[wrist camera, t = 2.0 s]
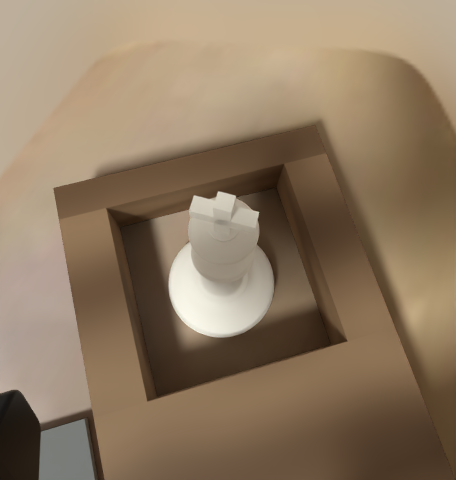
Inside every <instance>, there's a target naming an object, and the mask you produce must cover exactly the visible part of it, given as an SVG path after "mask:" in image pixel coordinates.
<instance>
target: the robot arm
mask: <svg viewBox="0 0 456 480" xmlns="http://www.w3.org/2000/svg"><path fill="white" fill-rule="evenodd" d="M40 444H41V428H40V423H39V420H38V418H37V417H36V415H35V413H34V412H33V410H32V409H31V407H30V405H29V404H28V402H27V401H26V399H25V397H24V396H23V394H22V393H21V392H20V391H18V390H11V391H7V392H4V393H0V480H39V466H40Z"/></svg>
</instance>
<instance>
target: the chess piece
mask: <svg viewBox="0 0 456 480" xmlns="http://www.w3.org/2000/svg"><path fill="white" fill-rule="evenodd" d="M189 214H190V217H191V218H190V220H189V224H188V237H189V241H190V242H188V243H187V244H186V245H185V246H184V247H183V248H182V249H181V250H180V252H179V253H178V254H177V256H176V258H175V259H174V261H173V264H172V266H171V270H170V274H169V283H168V288H169V296H170V300H171V303H172V305H173V308H174V310H175V311H176V313H177V315H178V316H179V317H180V318H181V320H182V321H183V322H184V323H185V324H186V325H188V326H189V327H190V328H192V329H193V330H195V331H197V332H199V333H201V334H204V335H207V336H211V337H219V338H223V337H232V336H236V335H239V334H242V333H244V332H246V331H248V330H249V329H251V328H252V327H254V326H255V325H256V324H257V323H258V322H259V321H260V320H261V319H262V318H263V317H264V315H265V314H266V312H267V311H268V309H269V307H270V305H271V302H272V298H273V294H274V275H273V270H272V267H271V264H270V262H269V260H268V258H267V256H266V254H265V253H264V252H263V250H262V249H261V248H260V247H259V246H258V245H257V242H258V238H259V223H258V220H257V219H258V215H259V212H257V211H253V210H252V209H251V208H250V207H249V206H248V205H247V204H245V203H244V202H242V201H240V200H238V199H236V196H235V195H231V194H227V193H223V192H219V191H218V193H217V196H216V197H215V198H211V199H207V198H203V197H199V196H195V195H194V197H193V200H192V203H191V206H190V209H189Z"/></svg>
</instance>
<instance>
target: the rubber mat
mask: <svg viewBox="0 0 456 480" xmlns="http://www.w3.org/2000/svg"><path fill="white" fill-rule="evenodd" d="M39 480H98V476H97V470H96V464H95V458H94V453H93V447H92V441H91V435H90V429H89V423H88V418H84V419H81V420H78V421H74V422H71V423H68V424H64V425H61V426H58V427H54V428H51V429H48V430H44V431H41V444H40V466H39Z"/></svg>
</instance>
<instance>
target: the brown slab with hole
mask: <svg viewBox="0 0 456 480" xmlns="http://www.w3.org/2000/svg"><path fill="white" fill-rule="evenodd" d="M275 187H277V190H278V193H279V196H280V199H281V202H282V204H283V207H284V210H285V213H286V216H287V219H288V222H289V225H290V228H291V230H292V233H293V236H294V239H295V242H296V245H297V248H298V251H299V253H300V256H301V259H302V262H303V265H304V268H305V271H306V274H307V277H308V279H309V282H310V285H311V288H312V291H313V294H314V297H315V300H316V303H317V305H318V308H319V311H320V314H321V317H322V320H323V323H324V326H325V329H326V331H327V334H328V337H329V340H330V343H331V344H330V345H327V346H324V347H320V348H317V349H314V350H310V351H307V352H304V353H300V354H297V355H294V356H290V357H287V358H284V359H280V360H277V361H274V362H270V363H267V364H264V365H261V366H257V367H254V368H251V369H247V370H244V371H241V372H237V373H234V374H231V375H227V376H224V377H221V378H217V379H214V380H211V381H207V382H204V383H201V384H197V385H194V386H191V387H187V388H184V389H181V390H177V391H174V392H171V393H167V394H164V395H161V396H157V394H156V390H155V385H154V381H153V376H152V372H151V367H150V362H149V358H148V353H147V349H146V344H145V340H144V335H143V331H142V326H141V321H140V317H139V312H138V308H137V303H136V299H135V294H134V289H133V285H132V280H131V276H130V271H129V267H128V262H127V258H126V253H125V248H124V244H123V239H122V235H121V230H120V227H122V226H126V225H129V224H133V223H137V222H141V221H145V220H149V219H153V218H157V217H161V216H165V215H169V214H173V213H177V212H180V211H184V210H188V209H190V206H191V203H192V200H193V197H194V195H195V196H199V197H203V198H207V199H211V198H215V197H216V196H217V193H218V191H219V192H223V193H227V194H231V195H235V196H236V197H239V196H243V195H247V194H251V193H255V192H259V191H263V190H267V189H271V188H275ZM54 194H55V200H56V205H57V211H58V217H59V223H60V228H61V234H62V240H63V245H64V251H65V257H66V263H67V268H68V274H69V280H70V285H71V291H72V297H73V303H74V308H75V314H76V320H77V325H78V331H79V337H80V343H81V348H82V354H83V360H84V366H85V371H86V377H87V383H88V388H89V394H90V400H91V406H92V411H93V417H94V423H95V428H96V434H97V440H98V446H99V451H100V457H101V463H102V468H103V474H104V480H455V478H454V475H453V473H452V470H451V468H450V465H449V463H448V460H447V458H446V455H445V453H444V450H443V448H442V445H441V442H440V440H439V437H438V435H437V432H436V430H435V427H434V425H433V422H432V420H431V417H430V415H429V412H428V410H427V407H426V405H425V402H424V399H423V397H422V394H421V392H420V389H419V387H418V384H417V382H416V379H415V377H414V374H413V372H412V369H411V367H410V364H409V361H408V359H407V356H406V354H405V351H404V349H403V346H402V344H401V341H400V339H399V336H398V334H397V331H396V329H395V326H394V323H393V321H392V318H391V316H390V313H389V311H388V308H387V306H386V303H385V301H384V298H383V296H382V293H381V291H380V288H379V286H378V283H377V280H376V278H375V275H374V273H373V270H372V268H371V265H370V263H369V260H368V258H367V255H366V253H365V250H364V248H363V245H362V242H361V240H360V237H359V235H358V232H357V230H356V227H355V225H354V222H353V220H352V217H351V215H350V212H349V210H348V207H347V204H346V202H345V199H344V197H343V194H342V192H341V189H340V187H339V184H338V182H337V179H336V177H335V174H334V172H333V169H332V166H331V164H330V161H329V159H328V156H327V154H326V151H325V149H324V146H323V144H322V141H321V139H320V136H319V134H318V131H317V129H316V126H315V125H313V126H309V127H305V128H301V129H297V130H293V131H288V132H284V133H280V134H276V135H272V136H268V137H264V138H259V139H255V140H251V141H247V142H243V143H239V144H235V145H230V146H226V147H222V148H218V149H214V150H210V151H205V152H201V153H197V154H193V155H189V156H185V157H181V158H176V159H172V160H168V161H164V162H160V163H156V164H152V165H147V166H143V167H139V168H135V169H131V170H127V171H122V172H118V173H114V174H110V175H106V176H102V177H98V178H93V179H89V180H85V181H81V182H77V183H73V184H69V185H64V186H60V187H56V188H54Z"/></svg>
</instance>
